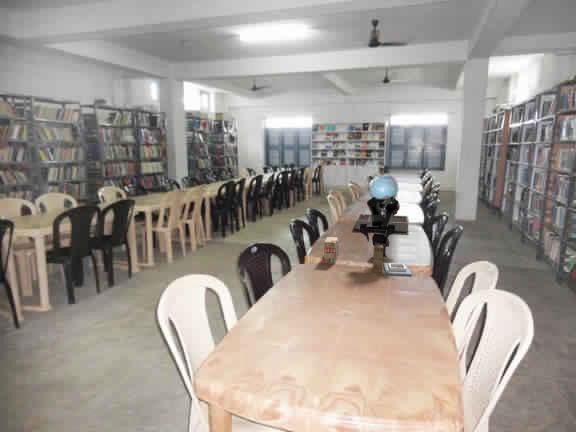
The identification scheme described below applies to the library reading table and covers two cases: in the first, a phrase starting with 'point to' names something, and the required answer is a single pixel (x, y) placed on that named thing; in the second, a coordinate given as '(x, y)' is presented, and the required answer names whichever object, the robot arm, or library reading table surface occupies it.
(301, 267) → the library reading table surface
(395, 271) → the blueprint board
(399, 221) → the organizer tray
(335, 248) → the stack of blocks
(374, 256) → the walnut column
